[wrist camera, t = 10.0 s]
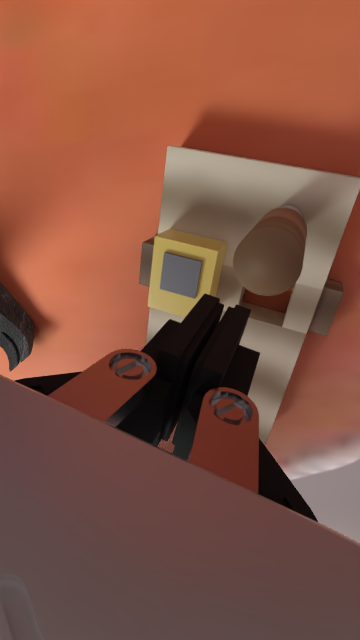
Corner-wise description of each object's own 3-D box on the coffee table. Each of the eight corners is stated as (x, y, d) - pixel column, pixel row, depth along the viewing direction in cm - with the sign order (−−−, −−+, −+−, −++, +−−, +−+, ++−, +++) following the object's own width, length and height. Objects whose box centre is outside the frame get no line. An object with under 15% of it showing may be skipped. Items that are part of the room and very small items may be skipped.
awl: (301, 244, 26) (291, 303, 15) (261, 235, 26) (226, 286, 16) (314, 202, 24) (312, 237, 14) (272, 194, 25) (241, 222, 15)
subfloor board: (284, 429, 37) (281, 449, 34) (138, 378, 41) (127, 393, 38) (382, 180, 25) (389, 183, 22) (163, 143, 29) (148, 142, 26)
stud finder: (213, 308, 30) (202, 324, 27) (161, 294, 31) (145, 307, 29) (227, 242, 27) (217, 252, 25) (169, 228, 29) (153, 236, 26)
